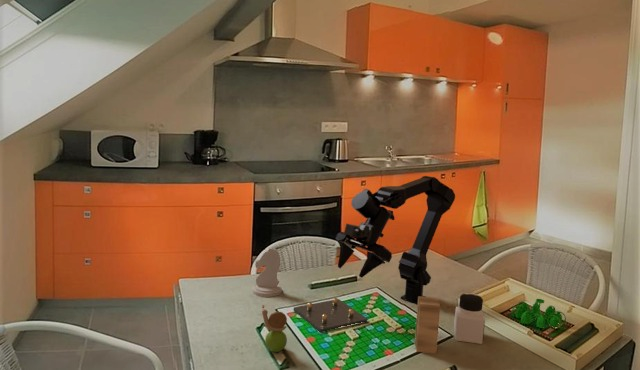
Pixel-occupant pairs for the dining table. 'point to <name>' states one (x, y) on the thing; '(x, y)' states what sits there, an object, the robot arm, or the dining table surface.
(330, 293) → the dining table surface
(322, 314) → the standoff plate
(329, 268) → the dining table surface
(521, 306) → the green bumpy clump
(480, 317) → the medicine bottle
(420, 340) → the wood block
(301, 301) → the dining table surface
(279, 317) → the snail figurine
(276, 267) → the chess piece
